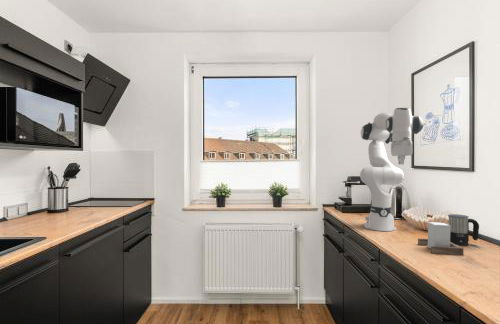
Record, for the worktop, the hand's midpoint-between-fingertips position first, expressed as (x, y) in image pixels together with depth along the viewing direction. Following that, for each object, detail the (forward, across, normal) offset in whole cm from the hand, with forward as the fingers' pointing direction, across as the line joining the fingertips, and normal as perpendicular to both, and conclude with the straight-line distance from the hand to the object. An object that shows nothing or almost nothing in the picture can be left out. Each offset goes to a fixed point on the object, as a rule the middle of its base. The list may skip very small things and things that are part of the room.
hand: (401, 164), depth 164 cm
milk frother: (+41, +7, -33) cm, 53 cm away
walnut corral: (+41, -10, -15) cm, 45 cm away
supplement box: (+41, -10, -15) cm, 45 cm away
